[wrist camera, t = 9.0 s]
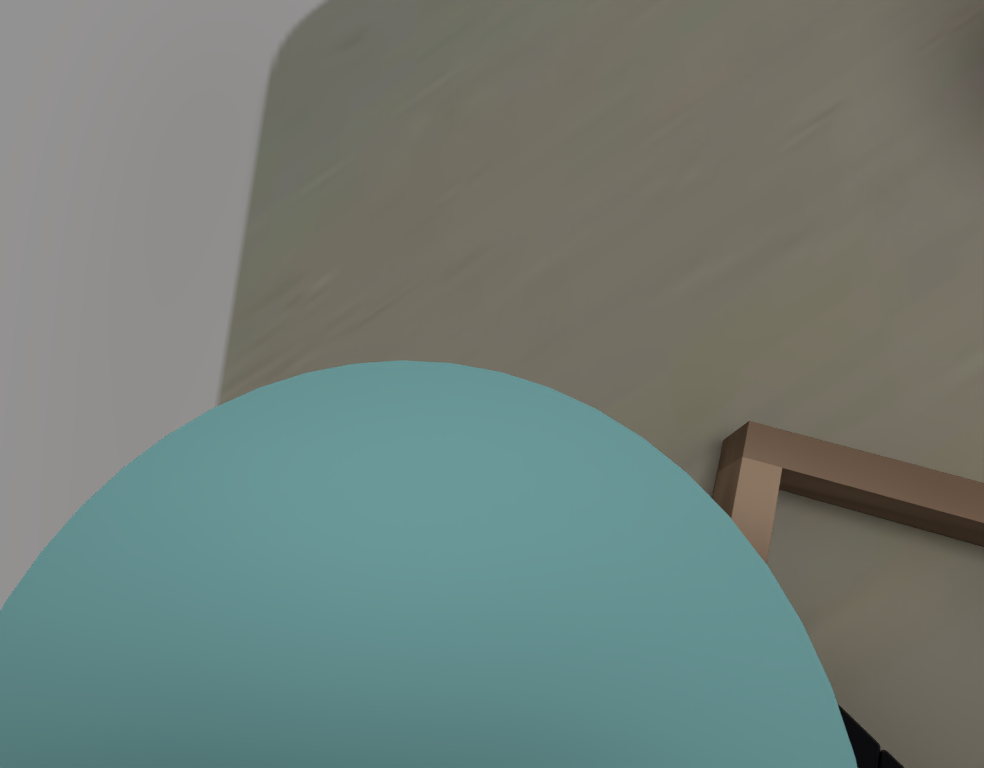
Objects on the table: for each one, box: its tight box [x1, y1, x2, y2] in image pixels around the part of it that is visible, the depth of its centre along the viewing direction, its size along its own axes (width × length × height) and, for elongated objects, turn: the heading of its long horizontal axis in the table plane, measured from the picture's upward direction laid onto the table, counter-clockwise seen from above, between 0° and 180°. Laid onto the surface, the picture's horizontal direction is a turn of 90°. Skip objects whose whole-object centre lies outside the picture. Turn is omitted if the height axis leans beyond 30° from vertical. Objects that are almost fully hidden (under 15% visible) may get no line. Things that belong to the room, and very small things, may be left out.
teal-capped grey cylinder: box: [0, 360, 857, 768], centre depth 9 cm, size 6×6×12 cm
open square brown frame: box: [712, 421, 984, 564], centre depth 14 cm, size 10×10×2 cm
